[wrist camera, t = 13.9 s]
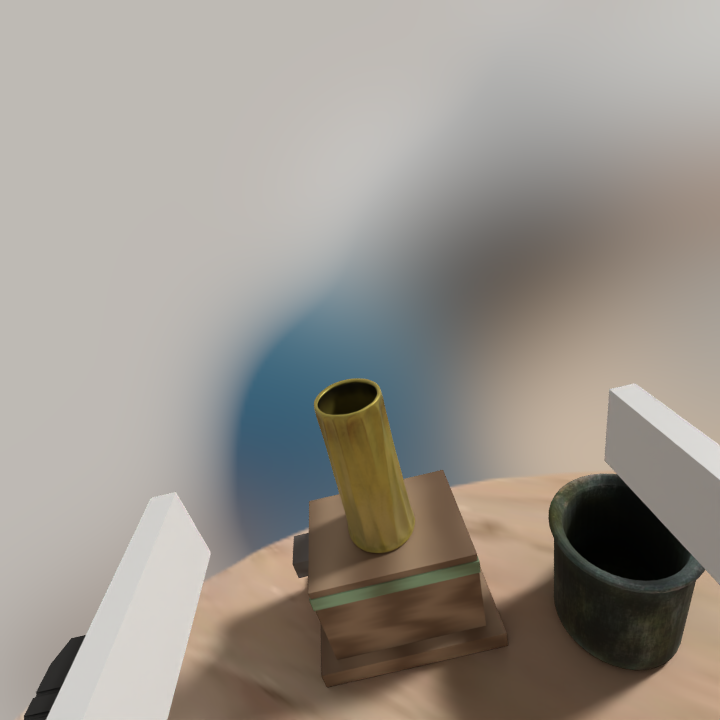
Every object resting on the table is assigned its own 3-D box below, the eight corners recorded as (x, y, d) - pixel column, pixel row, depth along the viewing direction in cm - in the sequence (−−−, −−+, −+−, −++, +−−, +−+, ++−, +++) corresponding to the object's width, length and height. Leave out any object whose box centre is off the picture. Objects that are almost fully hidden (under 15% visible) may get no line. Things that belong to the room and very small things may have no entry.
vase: (421, 546, 35) (392, 409, 29) (351, 561, 36) (306, 428, 29) (408, 493, 41) (381, 368, 34) (347, 507, 41) (308, 384, 35)
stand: (465, 537, 49) (454, 459, 44) (507, 645, 38) (500, 560, 33) (323, 570, 49) (294, 497, 44) (326, 687, 38) (288, 610, 33)
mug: (534, 636, 39) (530, 550, 33) (573, 520, 48) (575, 438, 43) (681, 711, 32) (708, 619, 26) (693, 559, 42) (714, 468, 36)
